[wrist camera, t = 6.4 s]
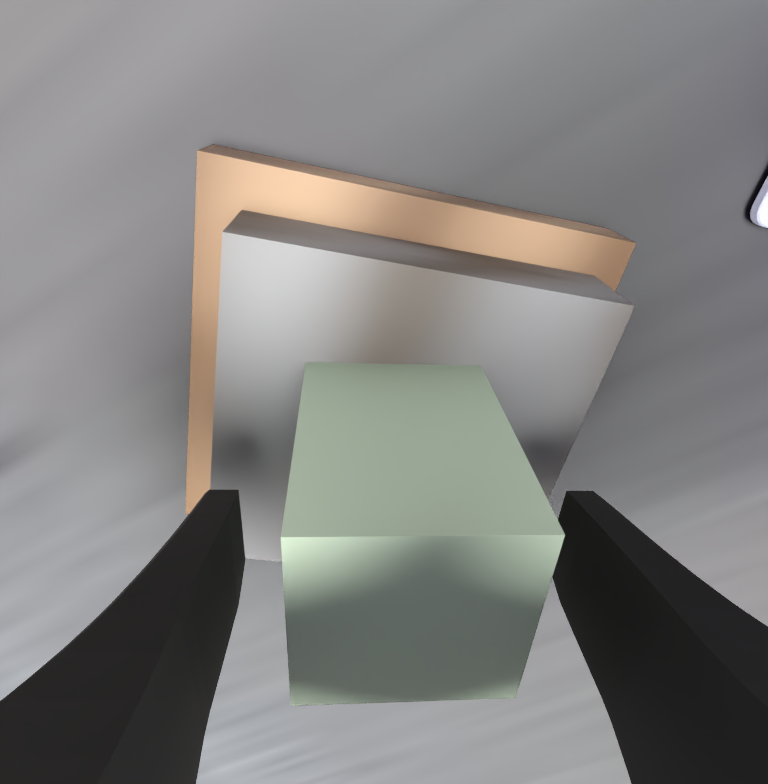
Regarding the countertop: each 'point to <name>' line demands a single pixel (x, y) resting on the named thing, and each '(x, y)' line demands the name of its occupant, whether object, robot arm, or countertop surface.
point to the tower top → (391, 343)
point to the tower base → (363, 214)
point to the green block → (410, 538)
